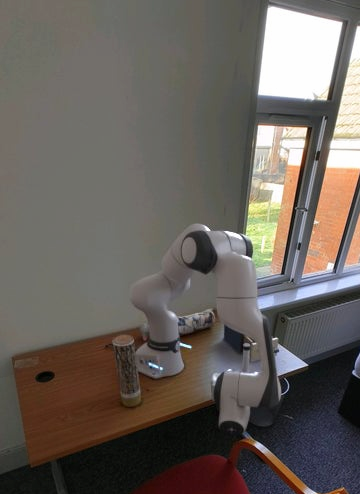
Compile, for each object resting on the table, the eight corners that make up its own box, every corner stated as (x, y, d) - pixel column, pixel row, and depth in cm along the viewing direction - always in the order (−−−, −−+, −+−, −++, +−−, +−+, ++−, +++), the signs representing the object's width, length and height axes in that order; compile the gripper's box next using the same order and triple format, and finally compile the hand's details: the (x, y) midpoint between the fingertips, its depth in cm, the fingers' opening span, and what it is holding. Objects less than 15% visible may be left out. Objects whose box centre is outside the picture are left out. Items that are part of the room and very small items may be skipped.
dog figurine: (168, 339, 165) (167, 318, 160) (140, 341, 165) (138, 320, 160) (168, 334, 170) (166, 313, 164) (141, 335, 170) (139, 315, 164)
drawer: (283, 361, 143) (285, 344, 139) (258, 368, 140) (260, 350, 136) (258, 341, 158) (260, 325, 154) (235, 346, 155) (236, 330, 151)
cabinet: (265, 347, 155) (267, 327, 150) (239, 353, 151) (240, 333, 146) (248, 333, 167) (249, 314, 162) (223, 338, 163) (224, 319, 158)
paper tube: (143, 396, 129) (135, 334, 116) (139, 408, 123) (131, 345, 110) (124, 395, 129) (115, 334, 117) (120, 407, 123) (109, 344, 111)
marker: (240, 376, 137) (242, 345, 130) (242, 373, 139) (244, 342, 132) (247, 378, 136) (249, 347, 129) (249, 374, 138) (251, 344, 131)
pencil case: (176, 340, 164) (175, 321, 159) (168, 333, 171) (167, 314, 166) (216, 329, 172) (217, 310, 167) (207, 322, 179) (207, 304, 174)
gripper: (272, 391, 109) (274, 367, 121) (207, 384, 114) (214, 361, 126) (270, 408, 113) (272, 383, 124) (207, 399, 118) (214, 376, 129)
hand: (243, 372), depth 125 cm, fingers open, 8 cm apart
